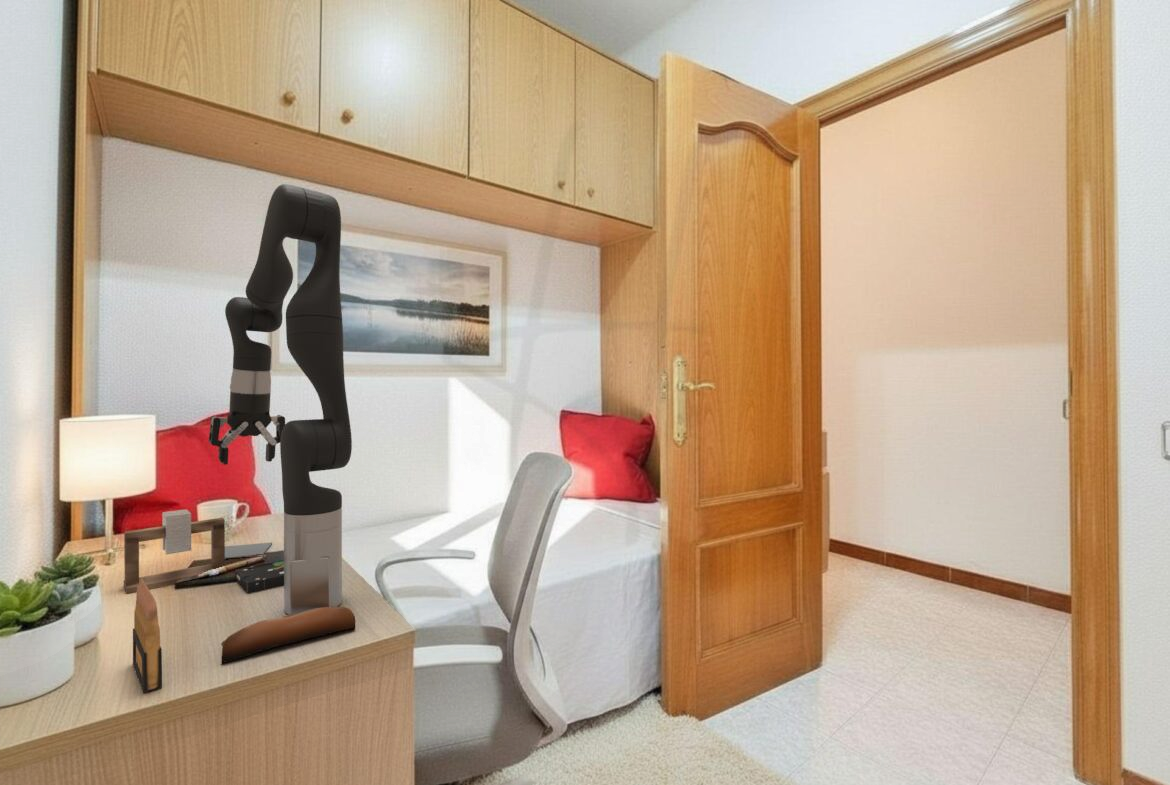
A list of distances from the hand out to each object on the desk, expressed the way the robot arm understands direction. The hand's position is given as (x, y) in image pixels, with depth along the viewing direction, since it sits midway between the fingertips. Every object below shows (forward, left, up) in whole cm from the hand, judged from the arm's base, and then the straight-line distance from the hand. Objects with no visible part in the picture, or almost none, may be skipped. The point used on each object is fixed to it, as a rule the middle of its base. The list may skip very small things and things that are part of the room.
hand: (247, 462), depth 119 cm
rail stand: (-7, +11, -22) cm, 26 cm away
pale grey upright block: (-7, +11, -16) cm, 21 cm away
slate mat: (+9, +3, -22) cm, 24 cm away
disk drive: (-13, -9, -23) cm, 28 cm away
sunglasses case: (-43, -15, -23) cm, 51 cm away
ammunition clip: (-49, +1, -23) cm, 54 cm away
